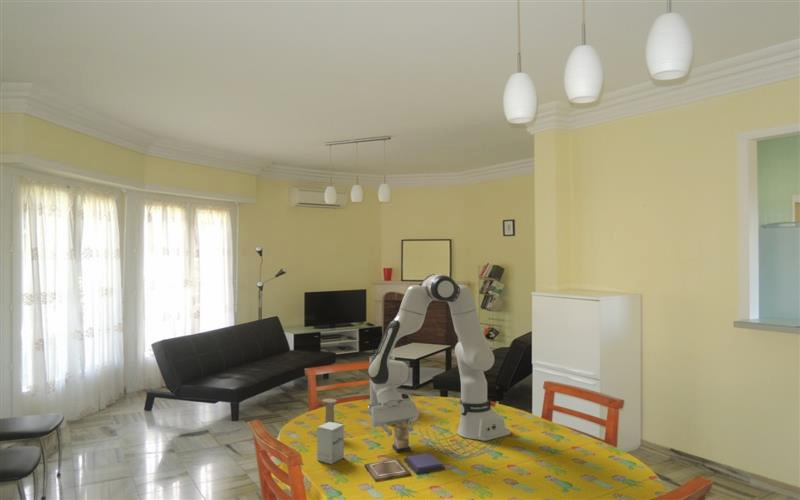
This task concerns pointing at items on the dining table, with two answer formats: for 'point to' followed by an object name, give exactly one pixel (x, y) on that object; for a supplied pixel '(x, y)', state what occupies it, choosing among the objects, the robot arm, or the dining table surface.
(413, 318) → the robot arm
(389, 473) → the marked board
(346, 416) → the dining table surface
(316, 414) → the dining table surface
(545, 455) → the dining table surface
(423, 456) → the ink pad
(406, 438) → the wooden stamp
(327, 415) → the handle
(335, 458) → the supplement box
